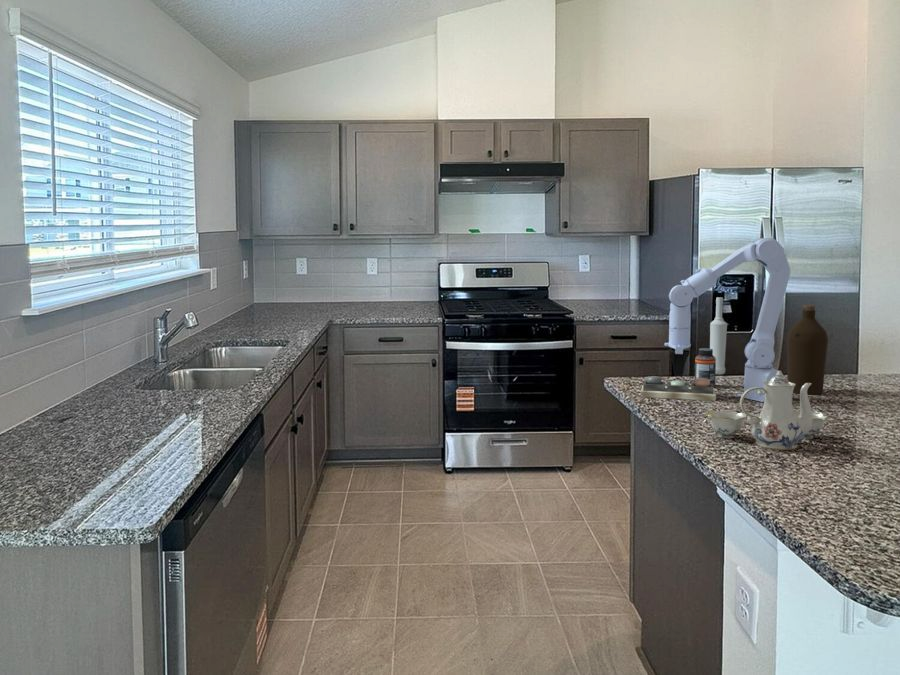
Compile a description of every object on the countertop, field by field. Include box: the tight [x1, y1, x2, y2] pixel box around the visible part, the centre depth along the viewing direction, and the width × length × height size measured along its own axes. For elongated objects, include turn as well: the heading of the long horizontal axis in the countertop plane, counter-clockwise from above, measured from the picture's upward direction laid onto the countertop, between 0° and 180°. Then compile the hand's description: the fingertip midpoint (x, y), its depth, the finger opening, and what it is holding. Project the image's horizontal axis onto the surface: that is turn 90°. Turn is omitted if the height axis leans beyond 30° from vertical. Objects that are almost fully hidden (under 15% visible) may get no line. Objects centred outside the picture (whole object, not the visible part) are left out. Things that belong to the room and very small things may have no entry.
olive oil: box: [786, 304, 829, 396], centre depth 221 cm, size 11×11×25 cm
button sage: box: [670, 380, 686, 386], centre depth 219 cm, size 4×4×2 cm
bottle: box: [709, 296, 728, 375], centre depth 253 cm, size 5×5×25 cm
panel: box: [640, 380, 717, 402], centre depth 219 cm, size 20×10×3 cm, turn 73°
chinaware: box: [701, 370, 835, 451], centre depth 169 cm, size 28×17×17 cm, turn 92°
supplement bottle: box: [694, 347, 716, 388], centre depth 232 cm, size 6×6×11 cm
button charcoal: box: [646, 375, 663, 385], centre depth 220 cm, size 4×4×2 cm
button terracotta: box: [694, 378, 710, 387], centre depth 217 cm, size 4×4×2 cm
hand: (678, 375), depth 218 cm, fingers closed
